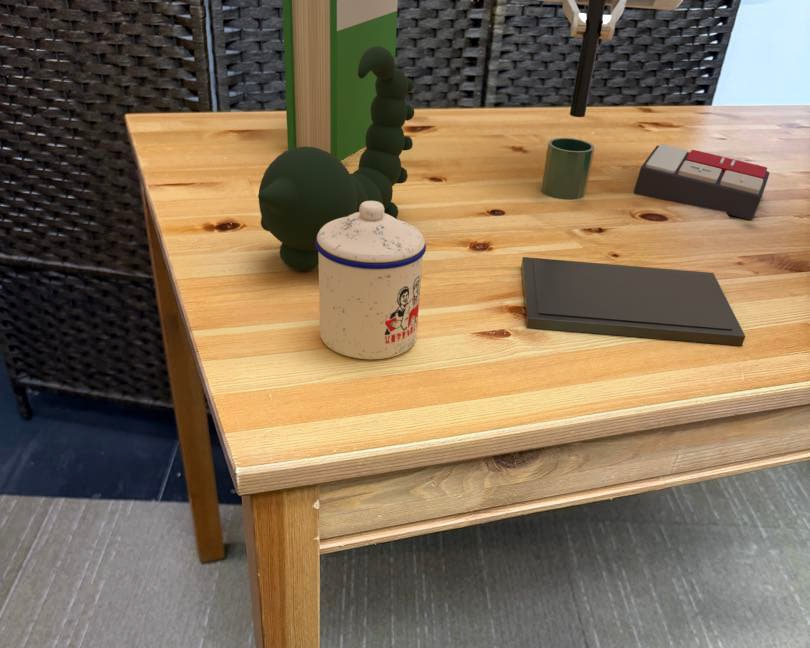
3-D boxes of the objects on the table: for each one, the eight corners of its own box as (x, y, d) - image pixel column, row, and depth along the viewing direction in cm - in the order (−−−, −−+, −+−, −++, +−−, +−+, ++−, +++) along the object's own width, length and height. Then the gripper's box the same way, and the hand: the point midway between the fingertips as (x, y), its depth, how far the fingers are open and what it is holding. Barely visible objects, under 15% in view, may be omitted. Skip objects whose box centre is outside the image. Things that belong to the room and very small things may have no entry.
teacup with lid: (403, 371, 68) (411, 233, 61) (301, 351, 70) (297, 214, 62) (438, 310, 77) (449, 183, 69) (347, 294, 79) (348, 168, 71)
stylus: (584, 113, 97) (611, -39, 87) (585, 118, 96) (613, -37, 86) (568, 112, 97) (594, -40, 88) (570, 116, 96) (596, -38, 86)
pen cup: (582, 189, 105) (592, 139, 101) (586, 204, 101) (596, 153, 97) (539, 186, 105) (547, 136, 101) (541, 201, 101) (549, 149, 97)
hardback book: (336, 162, 108) (336, -62, 92) (287, 152, 110) (279, -69, 94) (392, 130, 120) (400, -73, 104) (347, 121, 122) (349, -79, 106)
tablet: (710, 281, 86) (713, 271, 85) (742, 346, 75) (746, 335, 74) (521, 265, 86) (522, 255, 85) (526, 327, 76) (528, 316, 75)
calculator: (764, 190, 97) (642, 160, 101) (750, 225, 100) (632, 195, 104) (772, 165, 105) (658, 138, 108) (759, 199, 108) (649, 171, 111)
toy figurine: (354, 221, 97) (220, 275, 79) (364, 36, 86) (211, 49, 67) (423, 239, 94) (301, 300, 76) (444, 50, 83) (306, 68, 64)
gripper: (512, -114, 89) (502, 7, 88) (700, -101, 88) (692, 21, 87) (506, -67, 95) (496, 46, 94) (682, -55, 94) (673, 59, 94)
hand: (592, 34), depth 91 cm, fingers closed on stylus, 2 cm apart
